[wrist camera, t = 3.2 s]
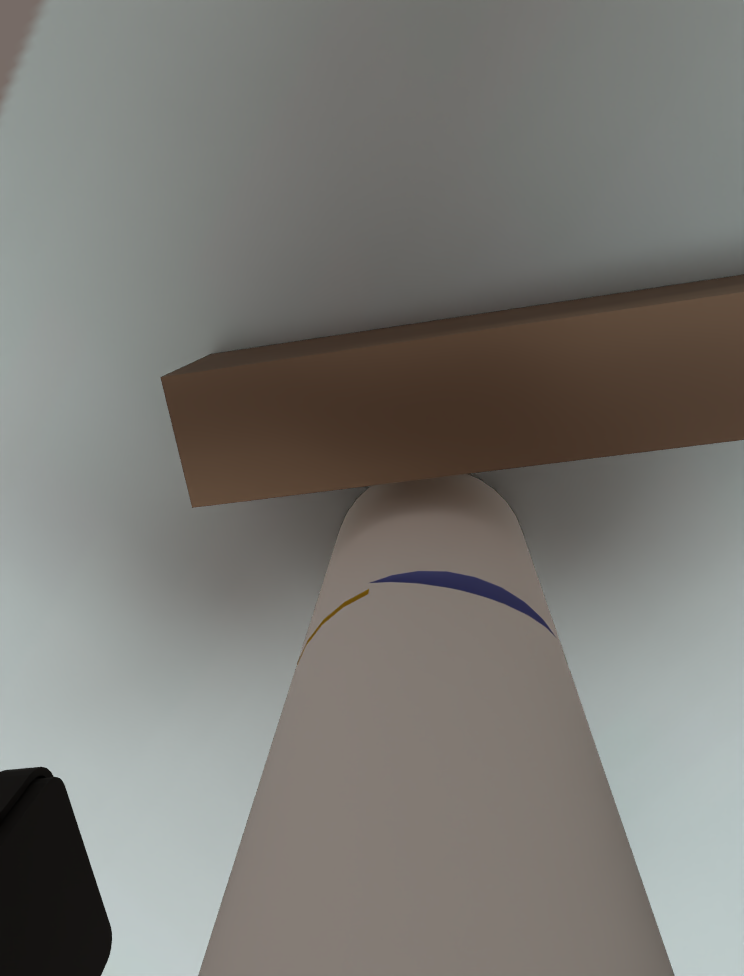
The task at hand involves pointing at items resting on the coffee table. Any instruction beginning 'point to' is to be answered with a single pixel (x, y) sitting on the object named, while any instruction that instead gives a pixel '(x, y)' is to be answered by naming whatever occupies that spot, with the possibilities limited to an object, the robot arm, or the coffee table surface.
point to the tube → (433, 772)
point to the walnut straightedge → (464, 394)
